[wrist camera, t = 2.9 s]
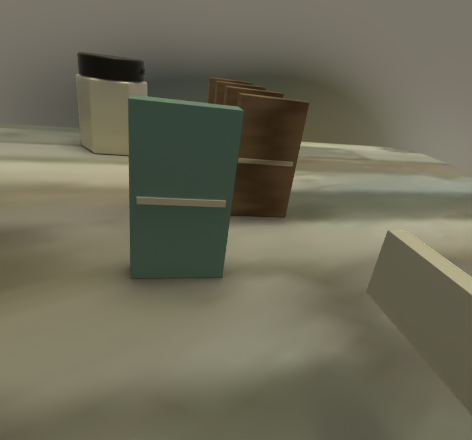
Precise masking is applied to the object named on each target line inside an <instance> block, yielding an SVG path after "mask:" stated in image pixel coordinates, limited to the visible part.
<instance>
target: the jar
mask: <svg viewBox="0 0 472 440" xmlns="http://www.w3.org/2000/svg"><path fill="white" fill-rule="evenodd" d="M77 55H78V68H79V74H76V82H77V96H78V109H79V121H80V135H81V144H82V145H83V146H84V147H86V148H87V149H89V150H90V151H92V152H93V153H95V154H111V155H127V156H129V131H128V98H129V97H130V95H137V96H146V97H147V83H146V82H144V61H142V60H137V59H131V58H124V57H116V56H109V55H101V54H93V53H83V52H79V53H78V54H77Z"/></svg>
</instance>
